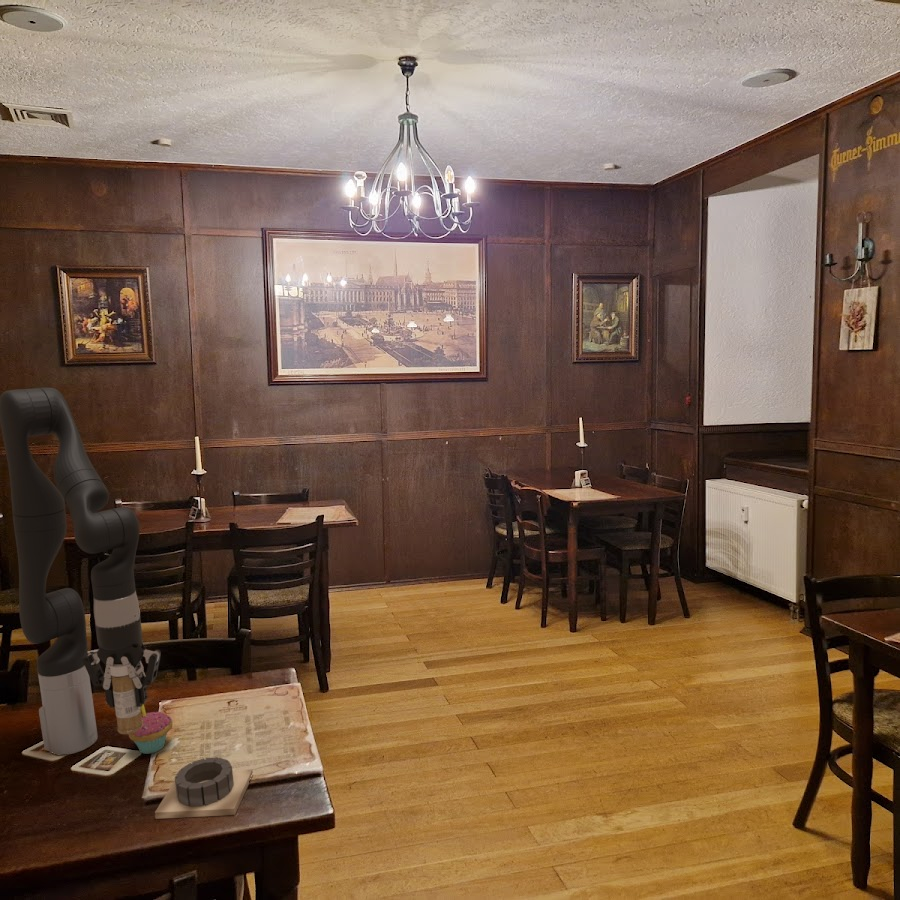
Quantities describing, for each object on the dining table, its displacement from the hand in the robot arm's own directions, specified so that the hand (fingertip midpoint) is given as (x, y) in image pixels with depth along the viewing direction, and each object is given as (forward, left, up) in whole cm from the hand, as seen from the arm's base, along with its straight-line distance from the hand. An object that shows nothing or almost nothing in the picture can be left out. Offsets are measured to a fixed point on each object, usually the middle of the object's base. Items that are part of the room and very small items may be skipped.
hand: (127, 704), depth 140 cm
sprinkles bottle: (0, 0, -5) cm, 5 cm away
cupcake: (-3, +14, -17) cm, 22 cm away
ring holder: (+14, -4, -17) cm, 22 cm away
